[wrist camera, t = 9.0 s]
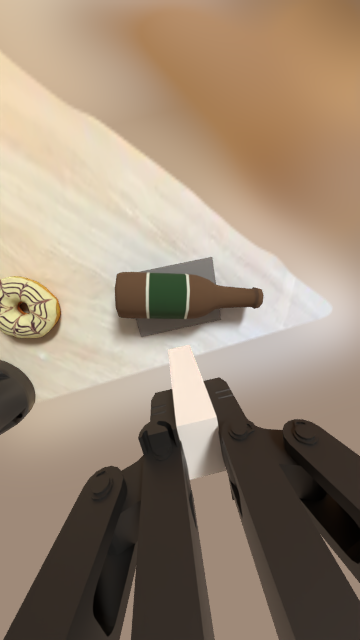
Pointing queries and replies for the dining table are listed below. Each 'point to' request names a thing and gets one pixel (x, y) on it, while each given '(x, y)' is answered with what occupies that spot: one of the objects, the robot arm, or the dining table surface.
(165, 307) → the beer bottle
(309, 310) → the dining table surface
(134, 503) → the robot arm
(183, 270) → the mat
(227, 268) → the dining table surface
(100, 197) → the dining table surface
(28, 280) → the decorated donut
